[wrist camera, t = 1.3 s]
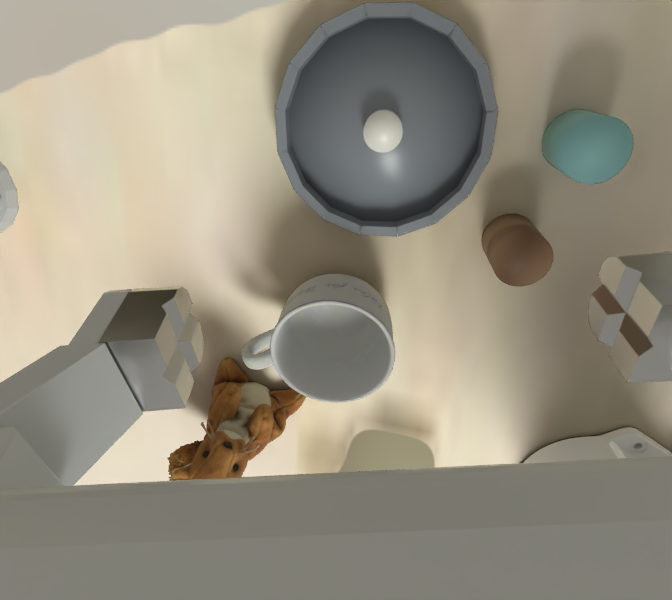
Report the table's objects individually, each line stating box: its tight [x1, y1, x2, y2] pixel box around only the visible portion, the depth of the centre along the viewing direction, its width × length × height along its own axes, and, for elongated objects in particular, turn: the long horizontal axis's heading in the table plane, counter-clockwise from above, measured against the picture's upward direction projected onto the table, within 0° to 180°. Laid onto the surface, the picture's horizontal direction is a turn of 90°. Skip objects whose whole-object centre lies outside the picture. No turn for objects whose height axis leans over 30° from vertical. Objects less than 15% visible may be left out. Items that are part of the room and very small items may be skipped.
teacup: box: [242, 274, 395, 403], centre depth 42 cm, size 14×11×8 cm
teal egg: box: [542, 110, 633, 184], centre depth 33 cm, size 4×4×5 cm
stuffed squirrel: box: [168, 358, 306, 481], centre depth 47 cm, size 10×14×13 cm
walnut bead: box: [482, 214, 553, 286], centre depth 38 cm, size 4×4×5 cm
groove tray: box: [275, 2, 498, 236], centre depth 36 cm, size 17×17×2 cm
